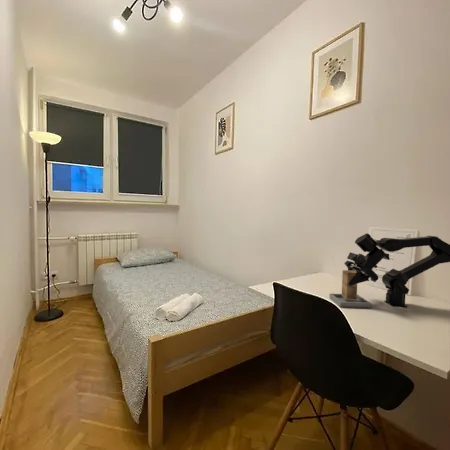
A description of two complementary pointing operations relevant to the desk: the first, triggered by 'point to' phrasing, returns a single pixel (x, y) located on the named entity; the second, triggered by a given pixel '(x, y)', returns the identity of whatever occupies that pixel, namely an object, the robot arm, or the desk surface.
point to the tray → (350, 301)
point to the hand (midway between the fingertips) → (346, 283)
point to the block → (348, 290)
